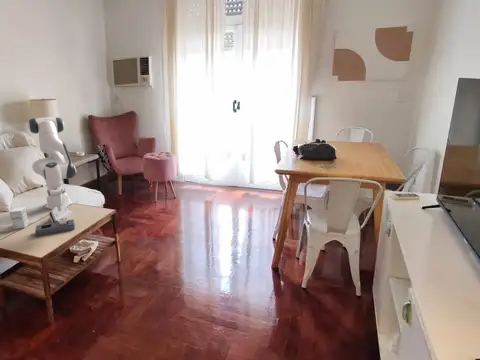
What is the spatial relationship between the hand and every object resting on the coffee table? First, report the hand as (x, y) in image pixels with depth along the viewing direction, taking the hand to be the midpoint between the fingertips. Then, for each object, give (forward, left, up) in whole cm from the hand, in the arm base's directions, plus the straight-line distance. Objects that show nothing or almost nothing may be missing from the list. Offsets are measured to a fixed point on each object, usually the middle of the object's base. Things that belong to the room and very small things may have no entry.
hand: (60, 208), depth 221 cm
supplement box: (-19, -27, -15) cm, 36 cm away
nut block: (0, 0, -15) cm, 15 cm away
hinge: (-22, -3, -15) cm, 27 cm away
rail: (0, -5, -15) cm, 16 cm away
